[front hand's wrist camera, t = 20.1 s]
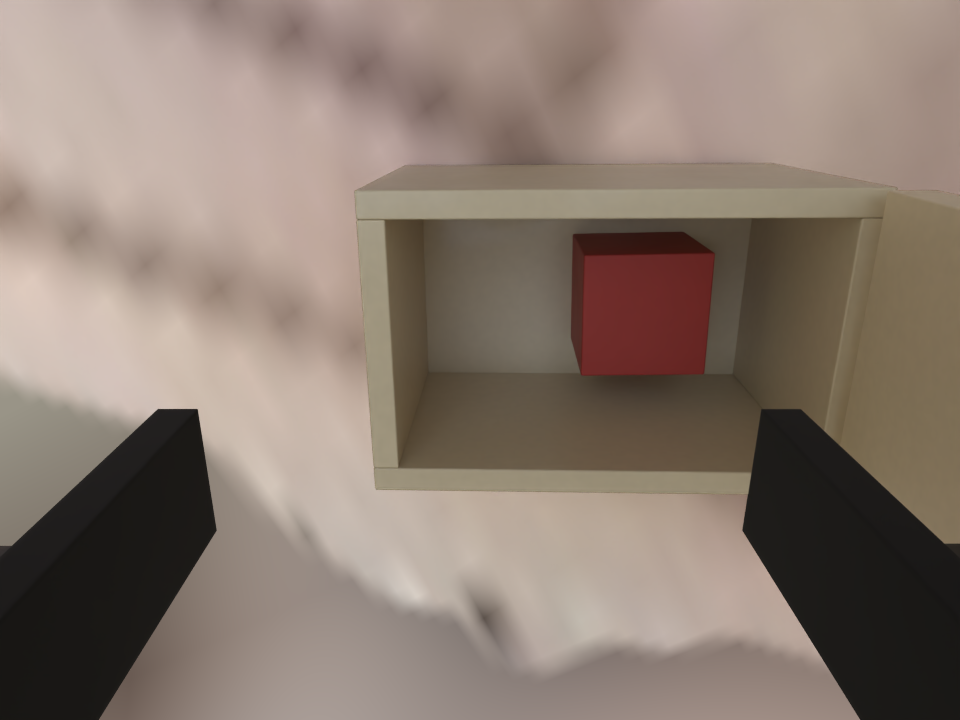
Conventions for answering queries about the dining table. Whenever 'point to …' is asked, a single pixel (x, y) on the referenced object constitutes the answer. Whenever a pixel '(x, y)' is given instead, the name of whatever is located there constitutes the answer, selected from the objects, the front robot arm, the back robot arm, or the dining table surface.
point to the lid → (912, 361)
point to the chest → (547, 322)
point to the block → (640, 303)
